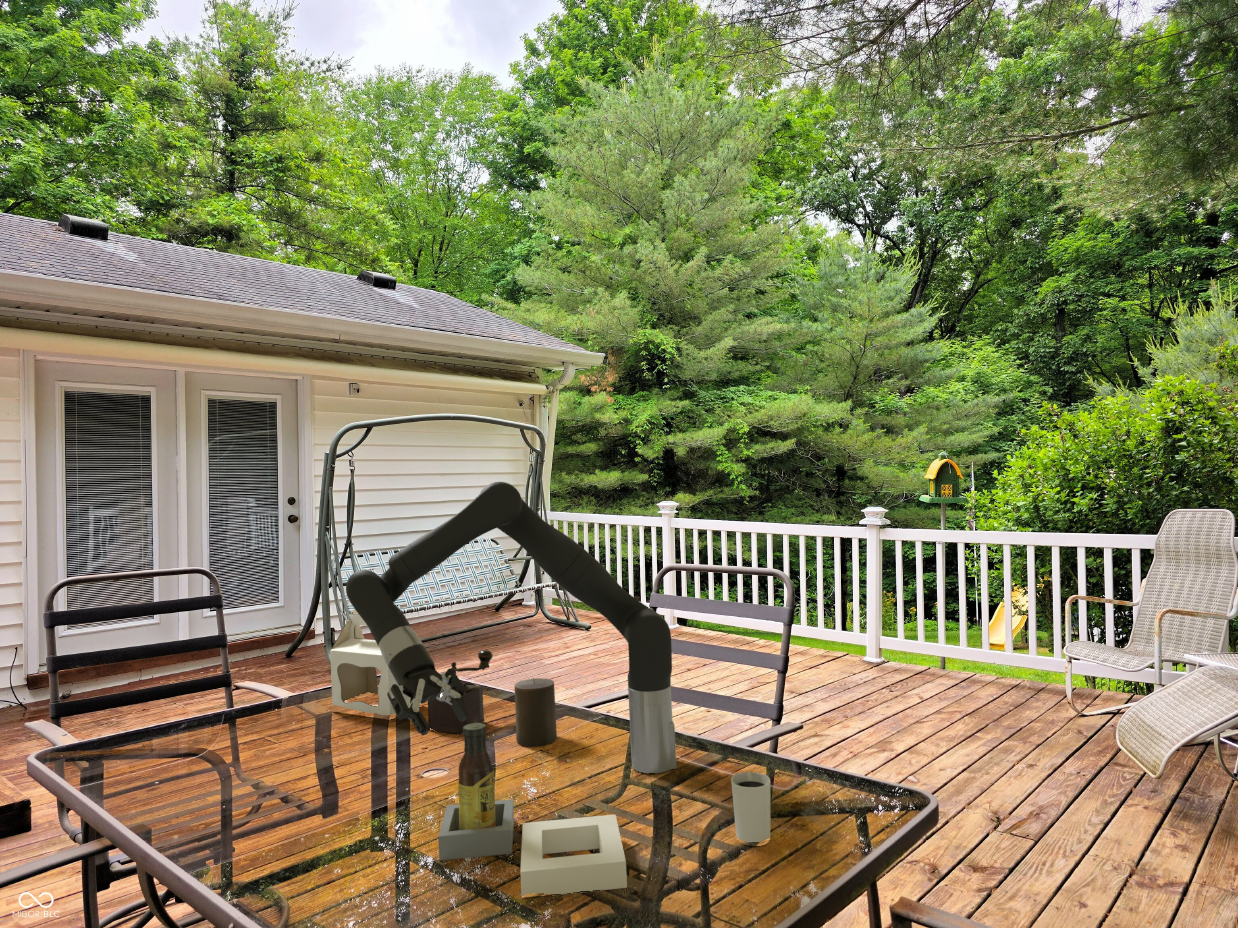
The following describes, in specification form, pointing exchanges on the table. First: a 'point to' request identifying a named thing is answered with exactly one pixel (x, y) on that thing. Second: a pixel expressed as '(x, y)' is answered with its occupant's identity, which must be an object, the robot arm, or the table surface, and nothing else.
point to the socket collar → (572, 870)
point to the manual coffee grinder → (444, 715)
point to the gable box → (359, 670)
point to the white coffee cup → (751, 806)
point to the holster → (476, 834)
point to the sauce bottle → (476, 781)
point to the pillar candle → (535, 712)
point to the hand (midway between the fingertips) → (446, 725)
